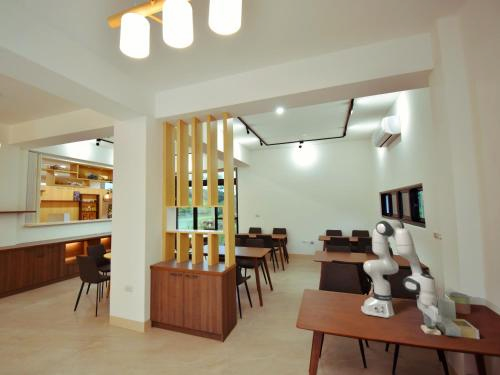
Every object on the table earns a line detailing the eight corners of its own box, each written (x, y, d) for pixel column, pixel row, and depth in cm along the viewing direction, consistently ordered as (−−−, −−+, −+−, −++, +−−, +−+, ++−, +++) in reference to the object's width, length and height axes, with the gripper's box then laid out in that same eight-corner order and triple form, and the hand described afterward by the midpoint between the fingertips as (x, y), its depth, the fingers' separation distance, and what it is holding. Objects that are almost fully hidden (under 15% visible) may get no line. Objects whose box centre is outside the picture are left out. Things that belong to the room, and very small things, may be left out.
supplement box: (456, 320, 164) (455, 301, 165) (444, 319, 165) (443, 301, 166) (450, 315, 171) (448, 297, 172) (438, 315, 172) (437, 297, 173)
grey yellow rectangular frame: (446, 335, 145) (445, 326, 146) (435, 324, 159) (434, 316, 159) (479, 339, 141) (478, 330, 141) (465, 327, 155) (464, 319, 155)
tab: (425, 333, 148) (425, 330, 148) (421, 328, 155) (420, 324, 155) (440, 335, 146) (440, 331, 146) (435, 329, 153) (435, 326, 153)
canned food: (450, 307, 185) (448, 291, 186) (469, 310, 179) (467, 294, 180) (451, 312, 176) (450, 295, 177) (472, 316, 170) (470, 299, 171)
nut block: (425, 325, 150) (425, 317, 150) (424, 322, 155) (423, 314, 155) (435, 327, 148) (435, 319, 148) (433, 323, 152) (433, 315, 153)
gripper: (444, 307, 141) (445, 331, 141) (424, 294, 162) (425, 315, 161) (432, 307, 142) (434, 330, 142) (414, 294, 163) (415, 314, 162)
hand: (429, 322), depth 151 cm, fingers closed on nut block, 6 cm apart
